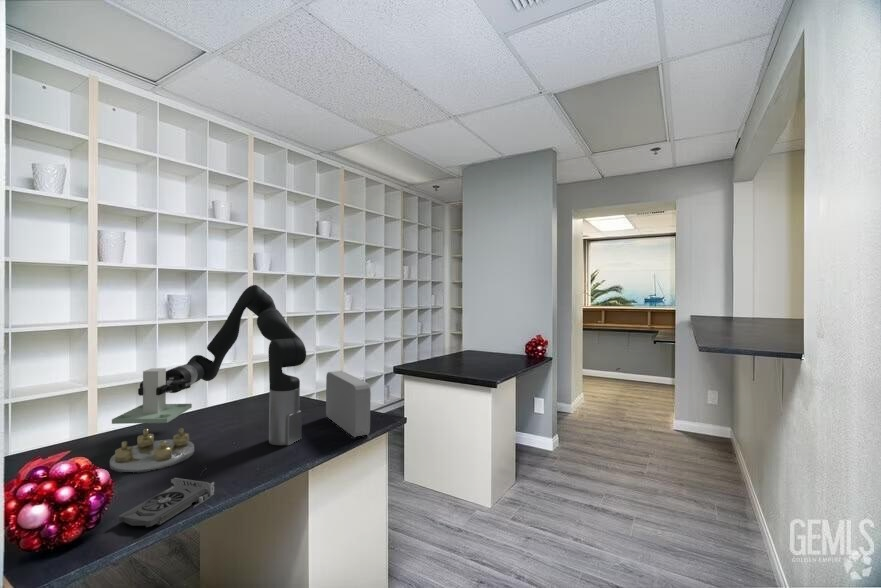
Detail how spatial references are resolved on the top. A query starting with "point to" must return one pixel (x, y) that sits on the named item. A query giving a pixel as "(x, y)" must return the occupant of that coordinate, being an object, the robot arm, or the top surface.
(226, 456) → the top surface
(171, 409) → the plate with upright post
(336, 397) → the gray rounded box
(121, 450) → the chassis
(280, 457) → the top surface
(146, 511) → the graphics card
